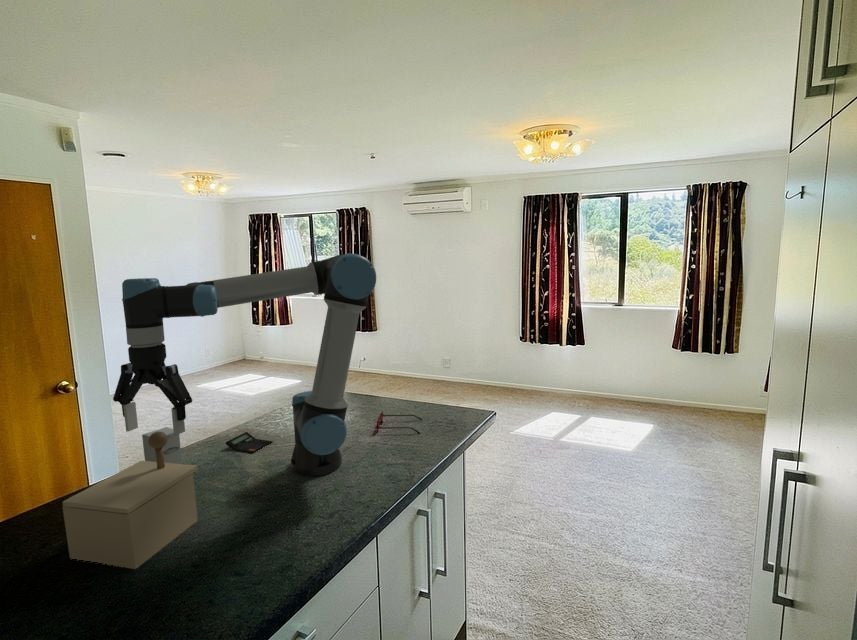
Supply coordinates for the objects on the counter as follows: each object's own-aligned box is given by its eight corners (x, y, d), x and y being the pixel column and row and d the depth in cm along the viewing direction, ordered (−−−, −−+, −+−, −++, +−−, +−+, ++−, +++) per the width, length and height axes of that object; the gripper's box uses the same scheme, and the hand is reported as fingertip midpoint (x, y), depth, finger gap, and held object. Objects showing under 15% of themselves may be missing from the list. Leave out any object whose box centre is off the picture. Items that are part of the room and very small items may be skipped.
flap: (198, 469, 112) (194, 430, 111) (127, 513, 93) (121, 467, 92) (141, 464, 116) (137, 426, 115) (63, 506, 97) (56, 461, 96)
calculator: (253, 454, 151) (252, 445, 150) (226, 450, 155) (225, 441, 154) (272, 443, 159) (272, 435, 159) (246, 439, 163) (245, 431, 163)
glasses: (380, 421, 178) (380, 409, 177) (423, 421, 177) (422, 408, 176) (374, 435, 164) (374, 421, 164) (420, 434, 163) (420, 421, 163)
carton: (197, 520, 112) (192, 474, 110) (135, 569, 95) (128, 514, 93) (139, 513, 116) (134, 468, 114) (70, 559, 99) (62, 506, 97)
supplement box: (159, 480, 134) (154, 438, 132) (145, 474, 138) (141, 434, 136) (183, 469, 140) (179, 430, 138) (170, 464, 144) (166, 426, 142)
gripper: (203, 342, 108) (211, 429, 111) (117, 340, 114) (126, 422, 117) (179, 348, 101) (188, 441, 104) (88, 346, 107) (99, 433, 110)
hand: (155, 431), depth 110 cm, fingers open, 13 cm apart
